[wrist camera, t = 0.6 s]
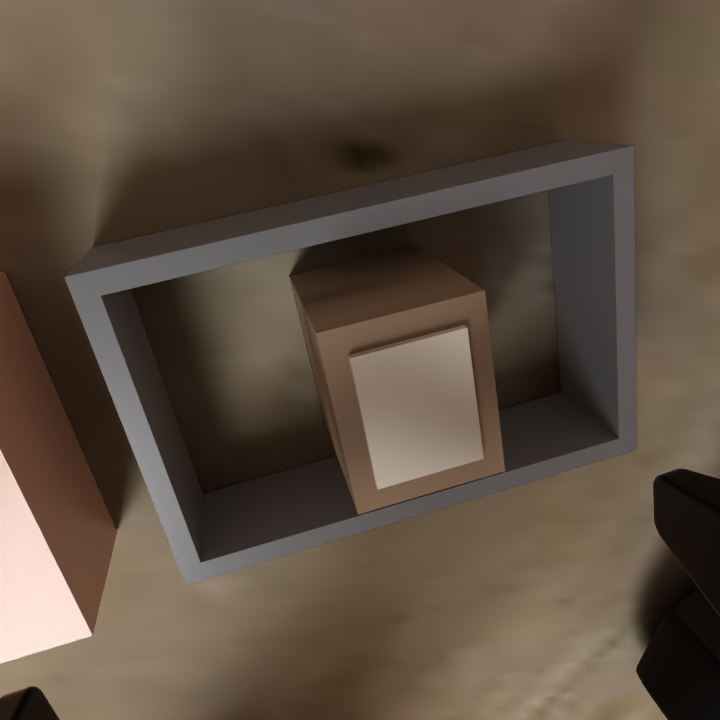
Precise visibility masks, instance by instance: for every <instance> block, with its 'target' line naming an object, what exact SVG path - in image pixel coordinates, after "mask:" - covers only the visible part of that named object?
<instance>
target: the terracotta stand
mask: <svg viewBox="0 0 720 720" xmlns="http://www.w3.org/2000/svg"><path fill="white" fill-rule="evenodd" d="M116 534H117V530H116V527H115V525H114V523H113V521H112V518H111V516H110V514H109V511H108V509H107V507H106V504H105V502H104V500H103V497H102V495H101V493H100V491H99V488H98V486H97V484H96V481H95V479H94V477H93V474H92V472H91V470H90V467H89V465H88V463H87V461H86V458H85V456H84V454H83V451H82V449H81V447H80V444H79V442H78V440H77V437H76V435H75V433H74V431H73V428H72V426H71V424H70V421H69V419H68V417H67V414H66V412H65V410H64V407H63V405H62V403H61V401H60V398H59V396H58V394H57V391H56V389H55V387H54V384H53V382H52V380H51V377H50V375H49V373H48V370H47V368H46V366H45V364H44V361H43V359H42V357H41V354H40V352H39V350H38V347H37V345H36V343H35V340H34V338H33V336H32V334H31V331H30V329H29V327H28V324H27V322H26V320H25V317H24V315H23V313H22V310H21V308H20V306H19V304H18V301H17V299H16V297H15V294H14V292H13V290H12V287H11V285H10V283H9V280H8V278H7V276H6V274H5V271H3V272H0V664H1V663H4V662H7V661H11V660H14V659H17V658H21V657H24V656H27V655H30V654H34V653H37V652H40V651H44V650H47V649H50V648H53V647H57V646H60V645H63V644H67V643H70V642H73V641H76V640H80V639H83V638H86V637H90V636H93V632H94V627H95V623H96V619H97V615H98V611H99V606H100V602H101V598H102V594H103V589H104V585H105V581H106V577H107V573H108V568H109V564H110V560H111V556H112V551H113V547H114V543H115V539H116Z"/></svg>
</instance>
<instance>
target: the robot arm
mask: <svg viewBox="0 0 720 720" xmlns="http://www.w3.org/2000/svg"><path fill="white" fill-rule="evenodd" d="M653 496H654V521H655V525H656V528H657V531H658V532H659V534H660V536H661V537H662V539H663V540H664V542H665V543H666V544H667V546H668V547H669V548H670V550H671V551H672V552H673V554H674V555H675V557H676V558H677V559H678V561H679V562H680V563H681V565H682V566H683V567H684V569H685V570H686V571H687V573H688V574H689V576H690V577H691V578H692V580H693V581H694V582H695V584H696V585H697V586H698V588H699V589H700V590H701V592H702V593H703V594H704V596H705V597H706V599H707V600H708V601H709V603H710V604H711V605H712V607H713V608H714V609H715V611H716V612H717V613H718V615H719V616H720V479H718V478H714V477H711V476H707V475H704V474H700V473H697V472H693V471H690V470H686V469H676V470H673V471H670V472H667V473H664V474H661V475H659V476H657V477H656V478H655V480H654V483H653ZM0 720H59V718H58V716H57V715H56V713H55V712H54V710H53V708H52V707H51V705H50V704H49V702H48V700H47V699H46V697H45V696H44V694H43V692H42V691H41V690H40V689H39V688H37V687H35V686H30V687H27V688H24V689H21V690H18V691H15V692H12V693H9V694H6V695H4V696H2V697H1V698H0Z"/></svg>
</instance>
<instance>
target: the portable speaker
mask: <svg viewBox="0 0 720 720" xmlns="http://www.w3.org/2000/svg"><path fill="white" fill-rule="evenodd" d="M636 672H637V674H638V676H639V678H640V680H641V681H642V683H643V685H644V687H645V688H646V690H647V691H648V693H649V694H650V695H651V697H652V698H653V700H654V701H655V703H656V704H657V705H658V707H659V708H660V710H661V711H662V712H663V714H664V715H665V716H666V718H667V719H668V720H720V616H719V615H718V613H717V612H716V611H715V609H714V608H713V607H712V605H711V604H710V603H709V601H708V600H707V599H706V597H705V596H704V594H703V593H702V592H701V590H700V589H699V588H696V589H695V590H694V591H693V592H691V593H690V594H689V595H688V596H687V597H685V598H684V599H683V600H682V601H680V602H679V603H678V604H677V605H675V606H674V607H673V608H672V609H671V610H669V611H668V612H667V613H666V614H664V615H663V617H662V619H661V621H660V623H659V625H658V627H657V629H656V631H655V633H654V635H653V636H652V638H651V640H650V642H649V644H648V646H647V648H646V650H645V652H644V654H643V656H642V658H641V660H640V662H639V663H638V665H637V669H636Z"/></svg>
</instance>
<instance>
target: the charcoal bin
mask: <svg viewBox="0 0 720 720" xmlns="http://www.w3.org/2000/svg"><path fill="white" fill-rule="evenodd" d="M545 190H548V193H549V209H550V225H551V241H552V257H553V273H554V288H555V304H556V320H557V336H558V352H559V368H560V384H561V393H558V394H554V395H551V396H547V397H544V398H540V399H537V400H533V401H530V402H526V403H522V404H519V405H515V406H512V407H508V408H505V409H501V410H498V411H499V420H500V429H501V438H502V447H503V456H504V465H505V471H503V472H500V473H497V474H493V475H490V476H487V477H483V478H480V479H476V480H473V481H470V482H466V483H463V484H460V485H456V486H453V487H449V488H446V489H443V490H439V491H436V492H432V493H429V494H426V495H422V496H419V497H416V498H412V499H409V500H405V501H402V502H399V503H395V504H392V505H389V506H385V507H382V508H378V509H375V510H372V511H368V512H365V513H361V514H358V513H357V510H356V507H355V504H354V502H353V499H352V496H351V493H350V490H349V488H348V485H347V482H346V479H345V476H344V474H343V471H342V468H341V465H340V463H339V460H338V457H337V456H335V457H331V458H328V459H324V460H321V461H317V462H314V463H310V464H306V465H303V466H299V467H296V468H292V469H289V470H285V471H282V472H278V473H275V474H271V475H268V476H264V477H260V478H257V479H253V480H250V481H246V482H243V483H239V484H236V485H232V486H229V487H225V488H221V489H218V490H214V491H211V492H207V493H204V494H203V493H202V490H201V487H200V484H199V481H198V478H197V476H196V473H195V470H194V467H193V464H192V461H191V459H190V456H189V453H188V450H187V447H186V444H185V442H184V439H183V436H182V433H181V430H180V427H179V425H178V422H177V419H176V416H175V413H174V410H173V407H172V405H171V402H170V399H169V396H168V393H167V390H166V388H165V385H164V382H163V379H162V376H161V373H160V371H159V368H158V365H157V362H156V359H155V356H154V354H153V351H152V348H151V345H150V342H149V339H148V336H147V334H146V331H145V328H144V325H143V322H142V319H141V317H140V314H139V311H138V308H137V305H136V302H135V300H134V297H133V294H132V291H131V289H132V288H136V287H140V286H144V285H149V284H153V283H157V282H161V281H165V280H170V279H174V278H178V277H182V276H187V275H191V274H195V273H199V272H203V271H208V270H212V269H216V268H220V267H225V266H229V265H233V264H237V263H241V262H246V261H250V260H254V259H258V258H263V257H267V256H271V255H275V254H279V253H284V252H288V251H292V250H296V249H301V248H305V247H309V246H313V245H317V244H322V243H326V242H330V241H334V240H339V239H343V238H347V237H351V236H355V235H360V234H364V233H368V232H372V231H377V230H381V229H385V228H389V227H393V226H398V225H402V224H406V223H410V222H415V221H419V220H423V219H427V218H431V217H436V216H440V215H444V214H448V213H453V212H457V211H461V210H465V209H469V208H474V207H478V206H482V205H486V204H491V203H495V202H499V201H503V200H507V199H512V198H516V197H520V196H524V195H529V194H533V193H537V192H541V191H545ZM64 278H65V280H66V283H67V285H68V288H69V290H70V293H71V295H72V298H73V301H74V303H75V306H76V308H77V311H78V313H79V316H80V318H81V321H82V323H83V326H84V328H85V331H86V334H87V336H88V339H89V341H90V344H91V346H92V349H93V351H94V354H95V356H96V359H97V361H98V364H99V366H100V369H101V372H102V374H103V377H104V379H105V382H106V384H107V387H108V389H109V392H110V394H111V397H112V399H113V402H114V405H115V407H116V410H117V412H118V415H119V417H120V420H121V422H122V425H123V427H124V430H125V432H126V435H127V437H128V440H129V443H130V445H131V448H132V450H133V453H134V455H135V458H136V460H137V463H138V465H139V468H140V470H141V473H142V476H143V478H144V481H145V483H146V486H147V488H148V491H149V493H150V496H151V498H152V501H153V503H154V506H155V508H156V511H157V514H158V516H159V519H160V521H161V524H162V526H163V529H164V531H165V534H166V536H167V539H168V541H169V544H170V547H171V549H172V552H173V554H174V557H175V559H176V562H177V564H178V567H179V569H180V572H181V574H182V577H183V579H184V582H185V585H188V584H191V583H195V582H198V581H201V580H205V579H208V578H211V577H215V576H218V575H221V574H225V573H228V572H231V571H235V570H238V569H241V568H245V567H248V566H251V565H255V564H258V563H261V562H265V561H268V560H271V559H275V558H278V557H281V556H285V555H288V554H291V553H295V552H298V551H301V550H305V549H308V548H311V547H315V546H318V545H321V544H325V543H328V542H331V541H335V540H338V539H341V538H345V537H348V536H351V535H355V534H358V533H361V532H365V531H368V530H371V529H375V528H378V527H381V526H385V525H388V524H391V523H395V522H398V521H401V520H405V519H408V518H411V517H415V516H418V515H421V514H425V513H428V512H431V511H434V510H438V509H441V508H444V507H448V506H451V505H454V504H458V503H461V502H464V501H468V500H471V499H474V498H478V497H481V496H484V495H488V494H491V493H494V492H498V491H501V490H504V489H508V488H511V487H514V486H518V485H521V484H524V483H528V482H531V481H534V480H538V479H541V478H544V477H548V476H551V475H554V474H558V473H561V472H564V471H568V470H571V469H574V468H578V467H581V466H584V465H588V464H591V463H594V462H598V461H601V460H604V459H608V458H611V457H614V456H618V455H621V454H624V453H628V452H631V451H634V450H637V435H636V303H635V170H634V145H623V144H608V143H593V142H579V141H559V142H555V143H550V144H546V145H541V146H537V147H533V148H528V149H524V150H519V151H515V152H511V153H506V154H502V155H497V156H493V157H489V158H484V159H480V160H475V161H471V162H466V163H462V164H458V165H453V166H449V167H444V168H440V169H436V170H431V171H427V172H422V173H418V174H414V175H409V176H405V177H400V178H396V179H391V180H387V181H383V182H378V183H374V184H369V185H365V186H361V187H356V188H352V189H347V190H343V191H339V192H334V193H330V194H325V195H321V196H316V197H312V198H308V199H303V200H299V201H294V202H290V203H286V204H281V205H277V206H272V207H268V208H264V209H259V210H255V211H250V212H246V213H241V214H237V215H233V216H228V217H224V218H219V219H215V220H211V221H206V222H202V223H197V224H193V225H189V226H184V227H180V228H175V229H171V230H166V231H162V232H158V233H153V234H149V235H144V236H140V237H136V238H131V239H127V240H122V241H118V242H114V243H109V244H105V245H100V246H96V247H92V248H91V249H90V250H89V251H88V253H87V254H86V255H85V256H84V257H83V258H82V259H81V260H80V261H79V262H78V263H77V264H76V265H75V266H74V267H73V268H72V270H71V271H70V272H69V273H68V274H67V275H66V276H65V277H64Z"/></svg>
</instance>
